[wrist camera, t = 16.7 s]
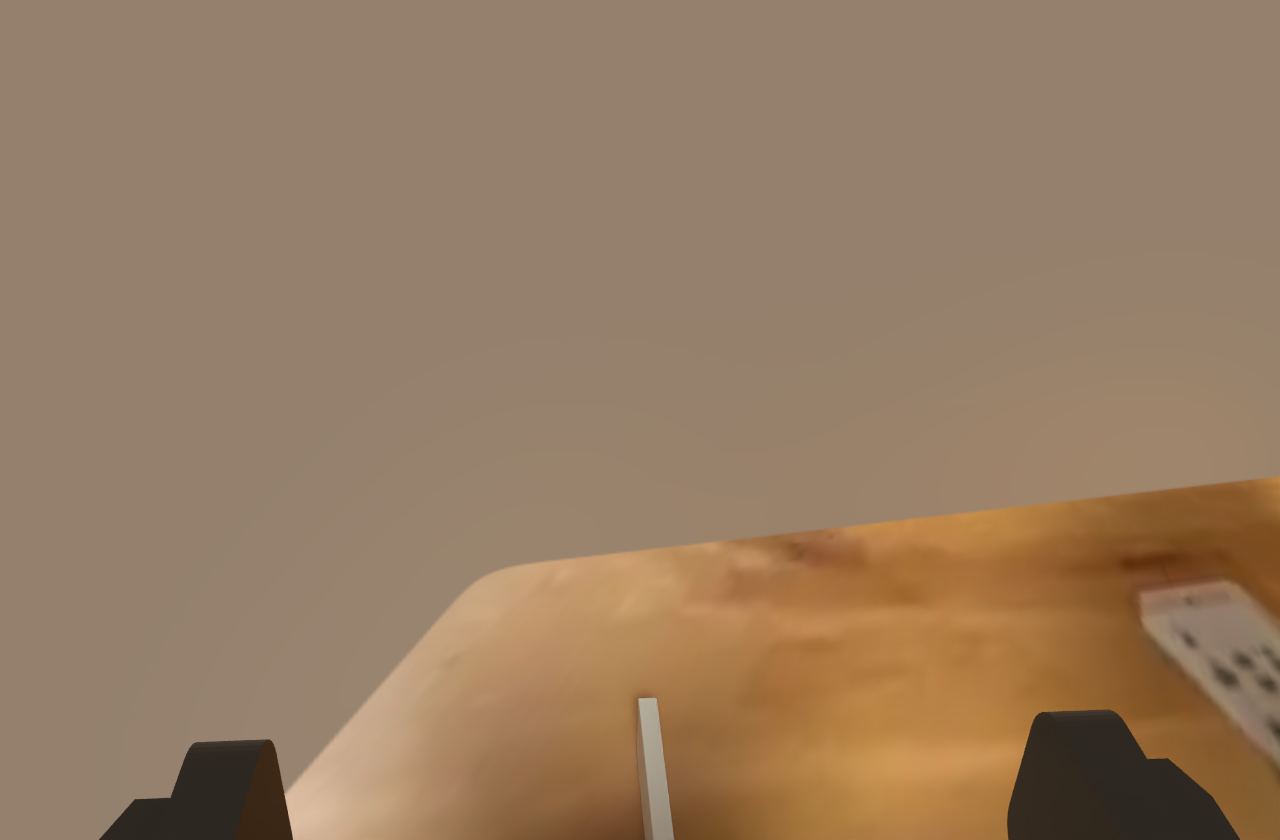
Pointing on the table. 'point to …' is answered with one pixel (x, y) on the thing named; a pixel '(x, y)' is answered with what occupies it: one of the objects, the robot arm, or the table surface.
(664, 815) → the low wall
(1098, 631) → the table surface
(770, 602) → the table surface
